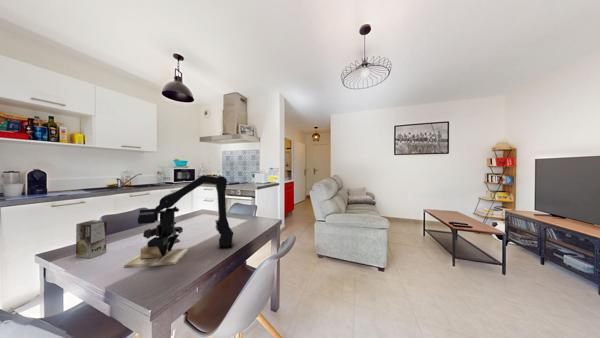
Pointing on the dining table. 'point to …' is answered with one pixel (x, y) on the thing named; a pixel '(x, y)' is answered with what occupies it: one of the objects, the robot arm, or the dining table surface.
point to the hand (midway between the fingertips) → (166, 253)
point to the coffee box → (91, 238)
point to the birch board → (168, 259)
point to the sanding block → (150, 253)
